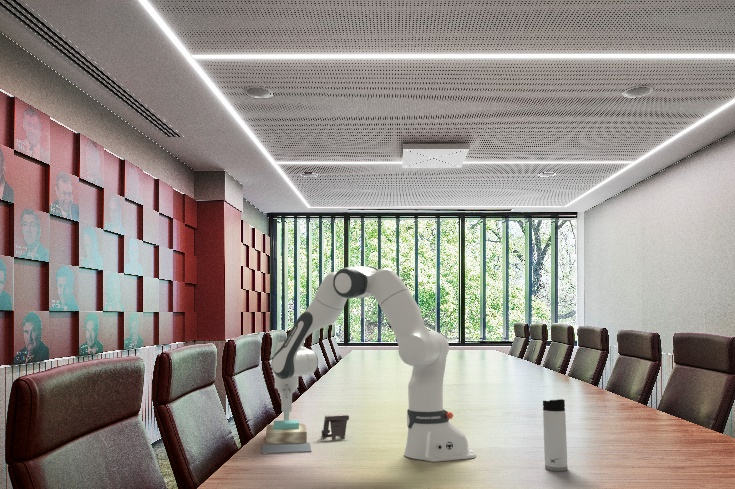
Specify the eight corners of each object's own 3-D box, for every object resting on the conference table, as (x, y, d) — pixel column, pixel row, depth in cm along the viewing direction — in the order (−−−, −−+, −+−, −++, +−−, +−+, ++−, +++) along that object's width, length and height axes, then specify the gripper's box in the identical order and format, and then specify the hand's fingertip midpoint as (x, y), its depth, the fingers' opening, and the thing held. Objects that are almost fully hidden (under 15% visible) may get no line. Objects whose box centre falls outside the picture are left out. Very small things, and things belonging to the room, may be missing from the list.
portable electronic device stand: (344, 434, 230) (344, 411, 231) (350, 438, 222) (350, 415, 223) (321, 436, 227) (321, 413, 228) (326, 440, 220) (326, 416, 221)
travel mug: (555, 472, 174) (553, 400, 176) (540, 467, 180) (537, 397, 182) (573, 470, 176) (570, 399, 178) (557, 465, 182) (554, 396, 184)
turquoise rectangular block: (298, 425, 226) (298, 420, 226) (298, 428, 220) (299, 423, 221) (273, 426, 225) (273, 420, 225) (273, 429, 219) (273, 423, 219)
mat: (309, 443, 214) (309, 442, 214) (311, 452, 201) (311, 450, 201) (262, 445, 212) (262, 444, 212) (261, 453, 199) (261, 452, 199)
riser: (304, 434, 230) (304, 423, 231) (306, 443, 214) (306, 431, 215) (266, 435, 228) (267, 424, 229) (265, 445, 212) (266, 433, 213)
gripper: (295, 386, 222) (295, 425, 220) (294, 379, 242) (294, 416, 240) (278, 386, 221) (277, 426, 219) (278, 380, 241) (278, 416, 239)
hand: (286, 420), depth 230 cm, fingers closed
